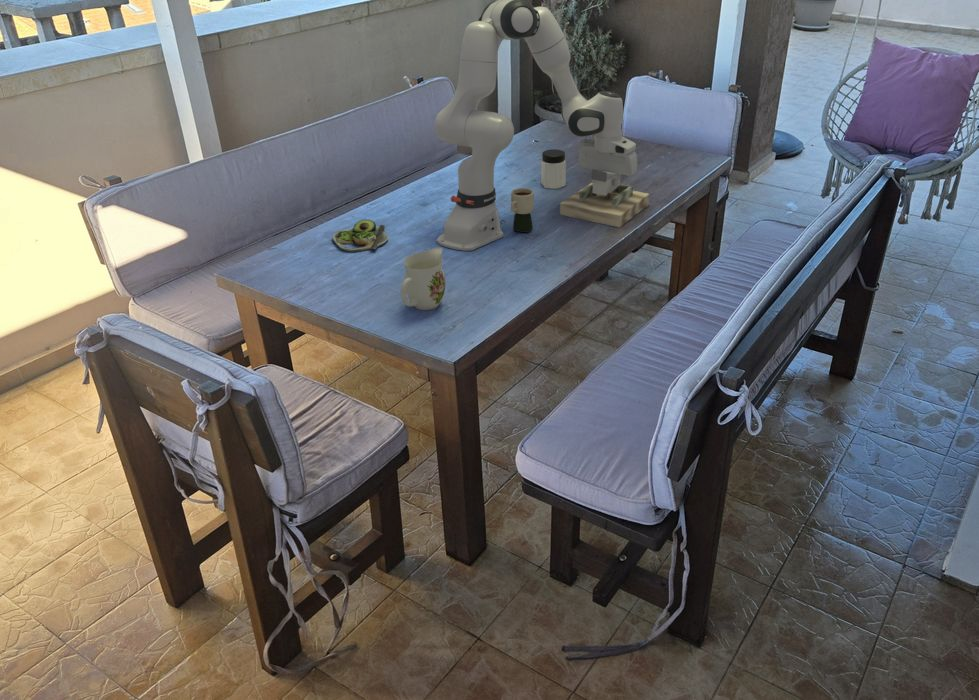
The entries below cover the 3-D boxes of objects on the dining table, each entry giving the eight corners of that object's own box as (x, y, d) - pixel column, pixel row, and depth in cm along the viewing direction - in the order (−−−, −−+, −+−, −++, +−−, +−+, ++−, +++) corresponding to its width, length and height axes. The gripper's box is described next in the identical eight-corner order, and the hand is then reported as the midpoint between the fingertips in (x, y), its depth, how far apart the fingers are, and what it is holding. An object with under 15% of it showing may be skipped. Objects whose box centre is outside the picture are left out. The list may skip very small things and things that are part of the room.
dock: (619, 227, 272) (620, 207, 268) (560, 214, 282) (560, 194, 279) (648, 205, 287) (650, 185, 283) (591, 193, 298) (591, 174, 294)
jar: (553, 191, 301) (553, 158, 295) (536, 185, 306) (536, 153, 300) (570, 184, 306) (570, 152, 300) (553, 179, 312) (553, 147, 305)
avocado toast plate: (399, 248, 264) (398, 235, 262) (344, 260, 259) (342, 246, 256) (381, 226, 280) (380, 213, 277) (329, 237, 274) (327, 224, 272)
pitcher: (388, 315, 227) (383, 269, 220) (427, 288, 240) (424, 243, 233) (421, 325, 222) (417, 278, 215) (459, 296, 235) (457, 251, 228)
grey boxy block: (606, 201, 277) (607, 173, 272) (589, 197, 280) (590, 170, 275) (620, 190, 284) (622, 163, 279) (604, 187, 287) (606, 160, 282)
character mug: (524, 222, 278) (524, 184, 271) (542, 227, 274) (541, 189, 267) (503, 232, 271) (502, 194, 264) (520, 238, 267) (520, 199, 260)
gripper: (574, 140, 276) (574, 181, 283) (631, 150, 266) (629, 192, 273) (584, 135, 280) (583, 175, 288) (640, 144, 270) (638, 185, 278)
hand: (606, 183), depth 280 cm, fingers closed on grey boxy block, 5 cm apart
